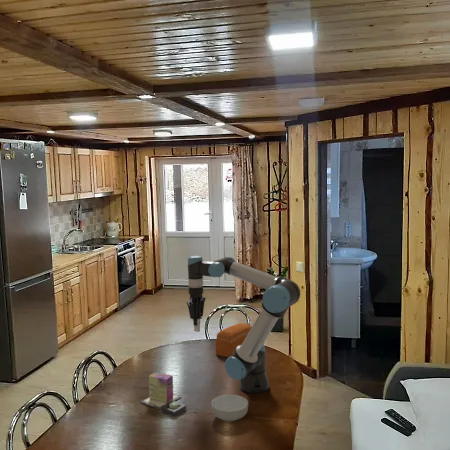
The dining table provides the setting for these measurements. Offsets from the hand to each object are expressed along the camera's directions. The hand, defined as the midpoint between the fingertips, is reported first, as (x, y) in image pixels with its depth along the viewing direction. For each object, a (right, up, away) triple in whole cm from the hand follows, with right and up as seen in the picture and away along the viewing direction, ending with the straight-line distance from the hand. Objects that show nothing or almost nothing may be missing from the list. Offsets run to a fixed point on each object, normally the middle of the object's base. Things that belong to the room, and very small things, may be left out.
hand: (197, 331), depth 249 cm
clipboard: (-17, -31, -13) cm, 38 cm away
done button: (-9, -31, -25) cm, 41 cm away
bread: (+21, -24, +54) cm, 63 cm away
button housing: (-9, -32, -25) cm, 41 cm away
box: (-17, -31, -13) cm, 37 cm away
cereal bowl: (+17, -32, -31) cm, 48 cm away
